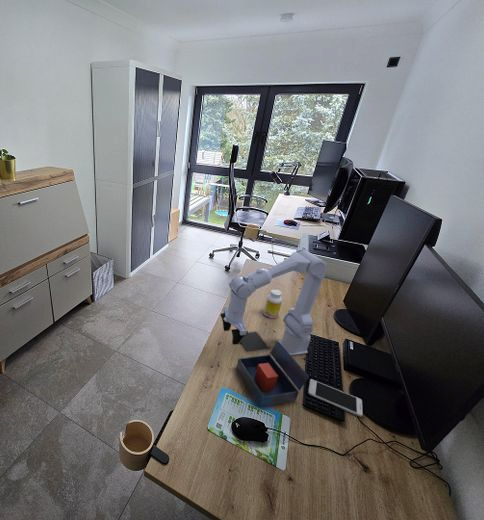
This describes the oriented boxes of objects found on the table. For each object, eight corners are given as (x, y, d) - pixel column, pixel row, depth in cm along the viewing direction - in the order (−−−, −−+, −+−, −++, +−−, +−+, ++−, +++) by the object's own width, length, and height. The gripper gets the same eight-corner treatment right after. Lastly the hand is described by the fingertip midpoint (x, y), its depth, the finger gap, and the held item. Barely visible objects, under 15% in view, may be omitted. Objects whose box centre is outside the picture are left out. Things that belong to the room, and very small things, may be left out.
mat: (255, 332, 128) (256, 331, 128) (268, 348, 119) (268, 347, 119) (234, 335, 126) (235, 334, 126) (246, 351, 118) (246, 350, 117)
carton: (266, 364, 112) (269, 354, 109) (294, 402, 97) (298, 391, 95) (236, 368, 110) (238, 358, 107) (259, 408, 95) (263, 397, 93)
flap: (269, 353, 109) (270, 353, 109) (299, 390, 94) (299, 390, 94) (277, 340, 106) (278, 340, 107) (308, 376, 92) (309, 376, 92)
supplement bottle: (279, 319, 136) (285, 297, 131) (264, 317, 138) (270, 295, 132) (275, 311, 142) (282, 289, 136) (261, 309, 143) (267, 287, 138)
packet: (264, 376, 106) (268, 362, 103) (273, 390, 101) (278, 376, 98) (254, 378, 106) (258, 364, 102) (263, 391, 100) (267, 377, 97)
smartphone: (309, 380, 105) (310, 378, 105) (361, 401, 98) (362, 399, 97) (307, 394, 100) (308, 392, 99) (361, 417, 92) (362, 415, 92)
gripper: (217, 297, 110) (213, 325, 117) (235, 322, 98) (229, 351, 104) (235, 296, 111) (229, 323, 118) (254, 319, 99) (247, 349, 105)
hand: (230, 336), depth 111 cm, fingers open, 7 cm apart
